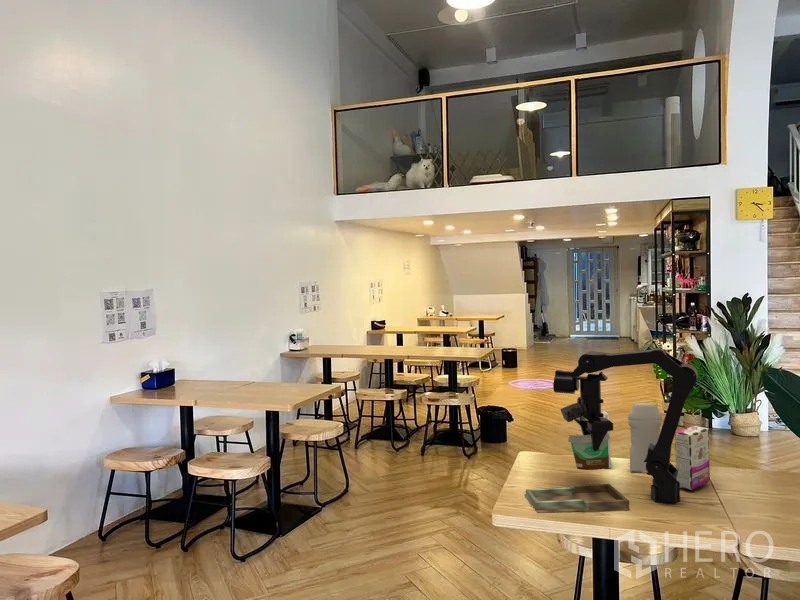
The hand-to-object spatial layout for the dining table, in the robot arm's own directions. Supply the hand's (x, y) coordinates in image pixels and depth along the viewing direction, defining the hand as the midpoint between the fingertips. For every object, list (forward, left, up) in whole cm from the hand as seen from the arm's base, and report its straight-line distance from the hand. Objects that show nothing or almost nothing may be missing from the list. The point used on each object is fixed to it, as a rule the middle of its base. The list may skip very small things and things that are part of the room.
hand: (591, 447), depth 169 cm
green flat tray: (+7, +9, -12) cm, 17 cm away
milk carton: (-11, -22, -13) cm, 27 cm away
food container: (-1, +1, -6) cm, 6 cm away
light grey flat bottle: (-23, -14, -13) cm, 29 cm away
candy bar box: (-31, -1, -13) cm, 33 cm away
